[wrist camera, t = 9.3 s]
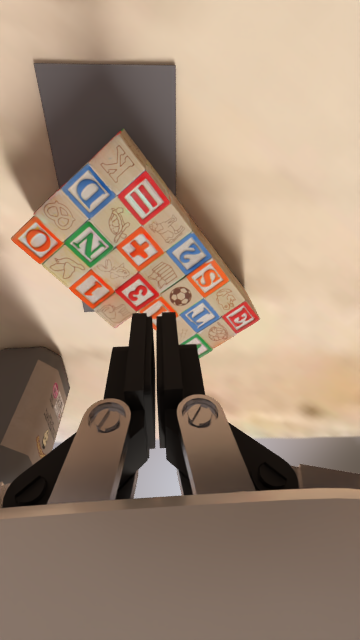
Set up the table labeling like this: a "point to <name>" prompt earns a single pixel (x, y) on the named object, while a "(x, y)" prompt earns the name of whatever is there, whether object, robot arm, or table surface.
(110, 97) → the mat
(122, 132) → the stack of blocks
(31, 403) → the liquor
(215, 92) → the table surface
